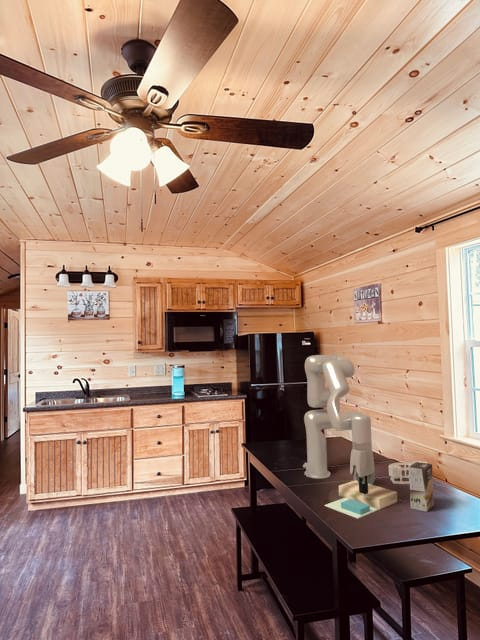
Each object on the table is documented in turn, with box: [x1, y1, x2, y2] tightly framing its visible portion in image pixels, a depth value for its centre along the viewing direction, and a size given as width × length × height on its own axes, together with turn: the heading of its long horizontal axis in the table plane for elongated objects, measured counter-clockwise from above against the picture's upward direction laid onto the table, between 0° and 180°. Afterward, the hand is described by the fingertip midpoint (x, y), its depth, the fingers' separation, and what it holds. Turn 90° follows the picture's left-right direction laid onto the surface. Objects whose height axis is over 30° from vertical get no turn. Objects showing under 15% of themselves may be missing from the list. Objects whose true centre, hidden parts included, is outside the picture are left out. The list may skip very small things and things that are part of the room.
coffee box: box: [408, 462, 435, 513], centre depth 166 cm, size 9×6×16 cm
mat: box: [324, 497, 379, 519], centre depth 166 cm, size 16×12×1 cm
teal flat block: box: [341, 499, 371, 515], centre depth 164 cm, size 9×6×2 cm, turn 38°
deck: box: [338, 480, 398, 511], centre depth 176 cm, size 20×12×4 cm, turn 37°
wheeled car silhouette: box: [388, 460, 429, 485], centre depth 199 cm, size 20×11×7 cm, turn 99°
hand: (363, 492), depth 168 cm, fingers closed
